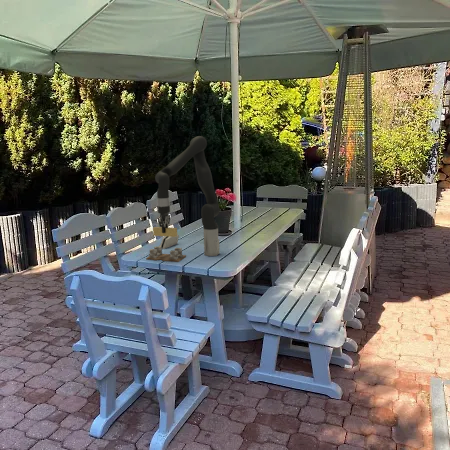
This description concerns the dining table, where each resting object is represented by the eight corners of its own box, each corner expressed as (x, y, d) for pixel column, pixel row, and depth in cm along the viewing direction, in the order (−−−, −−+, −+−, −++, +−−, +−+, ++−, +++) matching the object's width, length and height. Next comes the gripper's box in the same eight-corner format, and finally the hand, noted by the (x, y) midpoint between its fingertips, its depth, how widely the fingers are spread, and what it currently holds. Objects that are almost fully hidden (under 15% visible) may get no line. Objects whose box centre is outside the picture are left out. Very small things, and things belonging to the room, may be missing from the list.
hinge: (171, 242, 327) (175, 230, 324) (177, 245, 326) (180, 233, 322) (157, 248, 313) (161, 235, 309) (163, 251, 311) (166, 238, 308)
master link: (153, 235, 286) (152, 227, 285) (155, 234, 289) (155, 226, 288) (175, 236, 282) (175, 228, 281) (177, 235, 284) (176, 227, 283)
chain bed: (186, 256, 291) (185, 247, 289) (178, 262, 279) (178, 252, 278) (154, 254, 297) (154, 245, 296) (146, 259, 286) (145, 250, 285)
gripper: (162, 203, 289) (164, 229, 292) (152, 206, 276) (154, 234, 279) (173, 203, 287) (175, 230, 290) (164, 207, 273) (165, 235, 277)
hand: (165, 232), depth 285 cm, fingers closed on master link, 3 cm apart
